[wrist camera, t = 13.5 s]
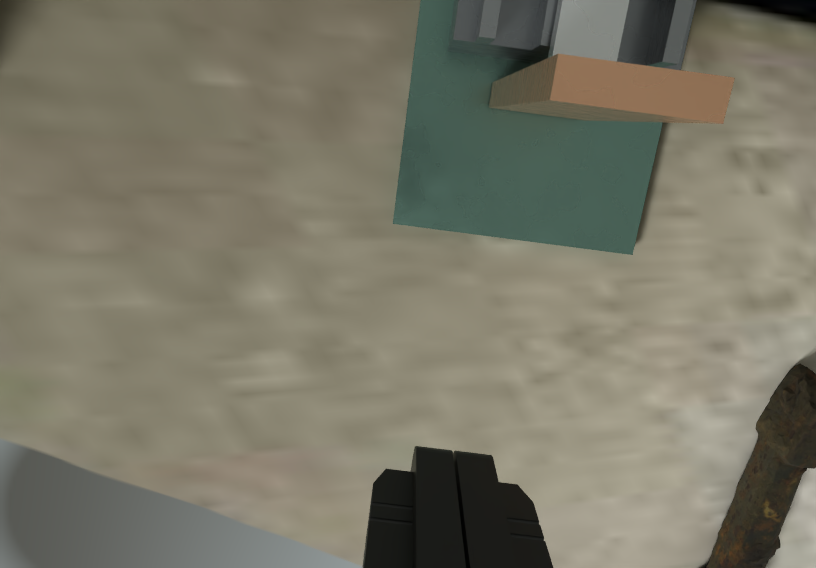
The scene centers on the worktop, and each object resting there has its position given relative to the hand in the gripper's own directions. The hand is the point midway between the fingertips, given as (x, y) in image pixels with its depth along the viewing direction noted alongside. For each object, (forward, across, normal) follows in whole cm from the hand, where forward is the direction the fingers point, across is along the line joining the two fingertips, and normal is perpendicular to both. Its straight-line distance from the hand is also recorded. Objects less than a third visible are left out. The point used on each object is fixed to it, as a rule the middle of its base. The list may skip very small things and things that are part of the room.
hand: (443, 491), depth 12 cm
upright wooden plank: (+29, -6, -14) cm, 33 cm away
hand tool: (+32, -27, +16) cm, 44 cm away
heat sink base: (+31, -6, -14) cm, 35 cm away
